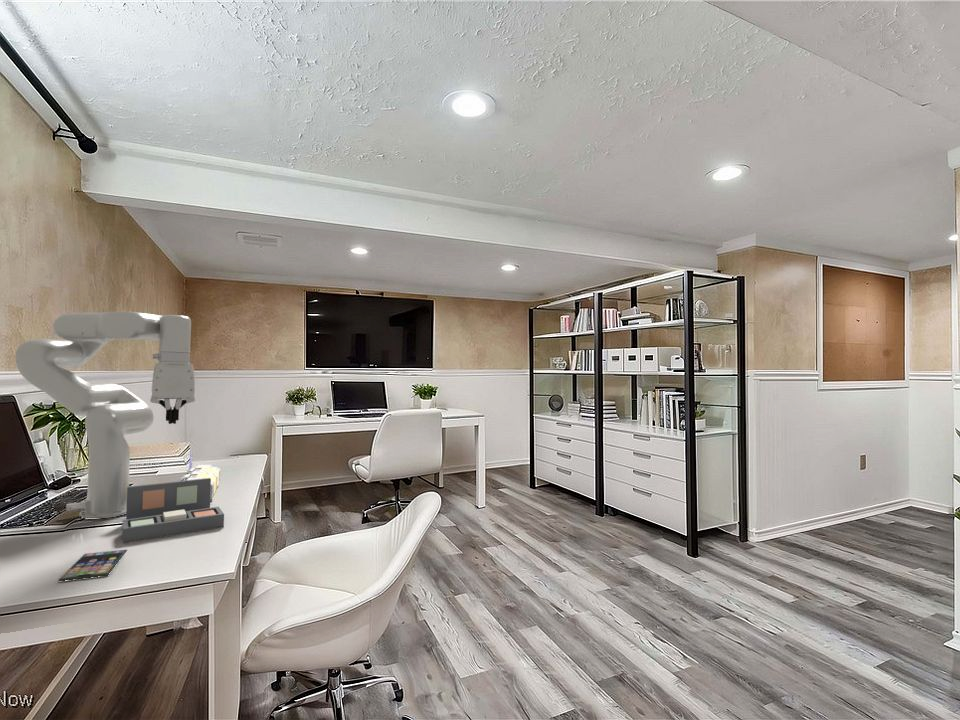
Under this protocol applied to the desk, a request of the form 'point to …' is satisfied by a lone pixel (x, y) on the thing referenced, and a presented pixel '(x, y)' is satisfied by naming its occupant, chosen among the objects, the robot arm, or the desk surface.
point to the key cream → (174, 515)
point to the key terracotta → (203, 513)
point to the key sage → (141, 522)
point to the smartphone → (93, 565)
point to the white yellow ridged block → (204, 475)
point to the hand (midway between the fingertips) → (172, 423)
